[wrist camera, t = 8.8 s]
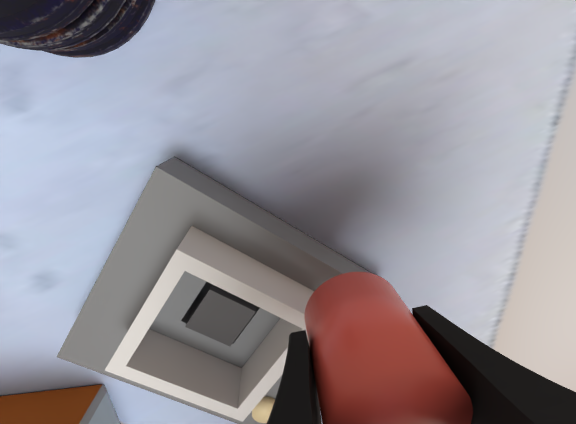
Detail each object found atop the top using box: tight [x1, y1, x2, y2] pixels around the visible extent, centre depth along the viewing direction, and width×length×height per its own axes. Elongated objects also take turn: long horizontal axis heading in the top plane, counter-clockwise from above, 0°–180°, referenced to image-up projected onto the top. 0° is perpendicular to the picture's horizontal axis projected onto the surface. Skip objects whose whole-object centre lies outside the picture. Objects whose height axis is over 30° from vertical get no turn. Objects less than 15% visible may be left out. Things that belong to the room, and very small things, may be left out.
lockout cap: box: [305, 272, 473, 424], centre depth 11 cm, size 4×4×5 cm
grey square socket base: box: [57, 157, 371, 424], centre depth 18 cm, size 16×14×6 cm
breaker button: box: [185, 282, 256, 346], centre depth 18 cm, size 3×3×4 cm
